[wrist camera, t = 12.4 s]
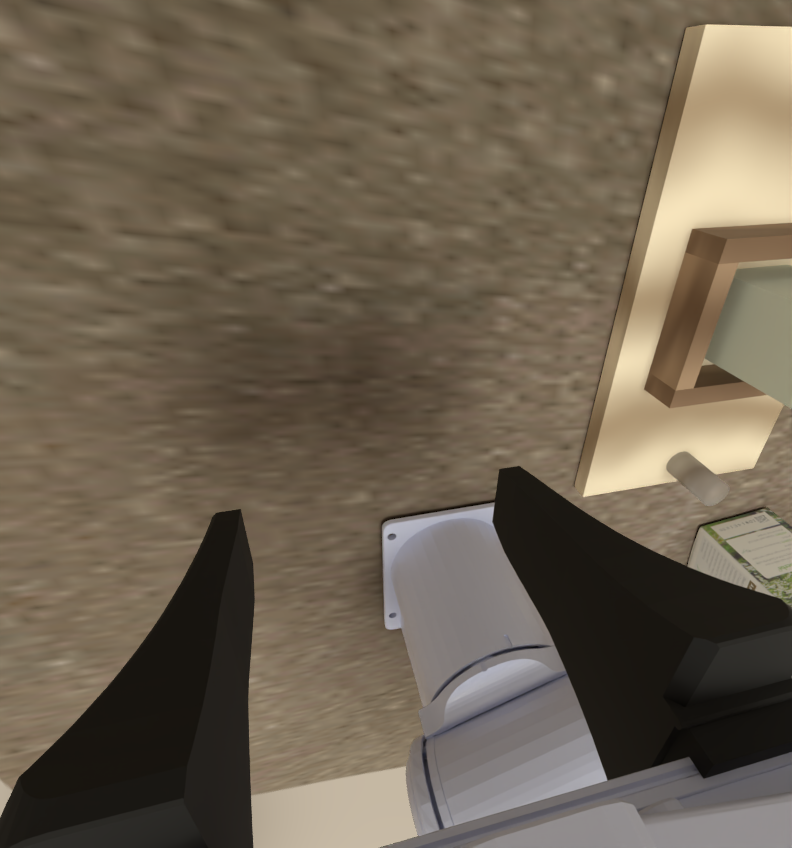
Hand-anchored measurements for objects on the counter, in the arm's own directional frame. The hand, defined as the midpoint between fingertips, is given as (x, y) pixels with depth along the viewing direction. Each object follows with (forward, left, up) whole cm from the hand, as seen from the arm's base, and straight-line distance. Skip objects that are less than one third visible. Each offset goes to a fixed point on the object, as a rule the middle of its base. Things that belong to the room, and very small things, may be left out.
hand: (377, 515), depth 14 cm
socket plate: (+1, -20, -10) cm, 23 cm away
